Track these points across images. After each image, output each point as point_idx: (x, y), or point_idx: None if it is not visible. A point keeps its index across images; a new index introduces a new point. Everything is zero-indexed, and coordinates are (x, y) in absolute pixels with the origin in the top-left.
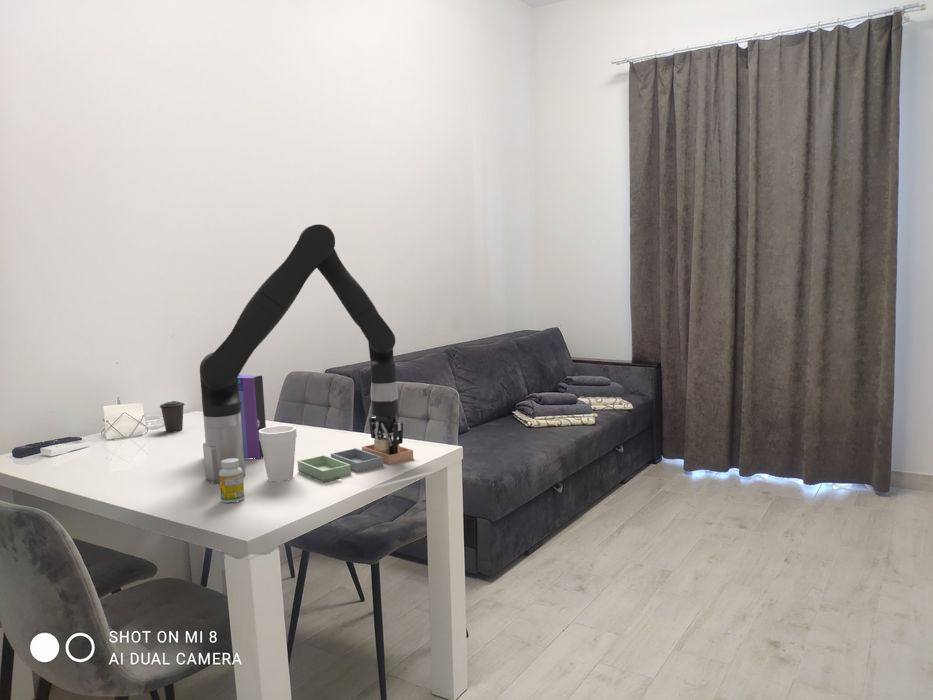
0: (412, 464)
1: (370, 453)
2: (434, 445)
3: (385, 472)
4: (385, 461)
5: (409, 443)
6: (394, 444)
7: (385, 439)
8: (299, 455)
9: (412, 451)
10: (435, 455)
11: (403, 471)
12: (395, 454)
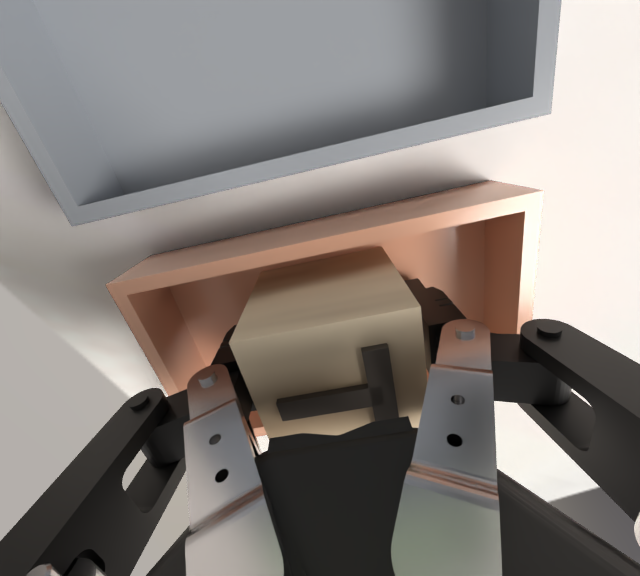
0: (147, 369)
1: (251, 175)
2: None
3: (12, 182)
4: (183, 254)
5: (530, 475)
6: (141, 393)
7: (338, 390)
8: None
9: None
10: None
11: (12, 286)
12: (136, 336)
